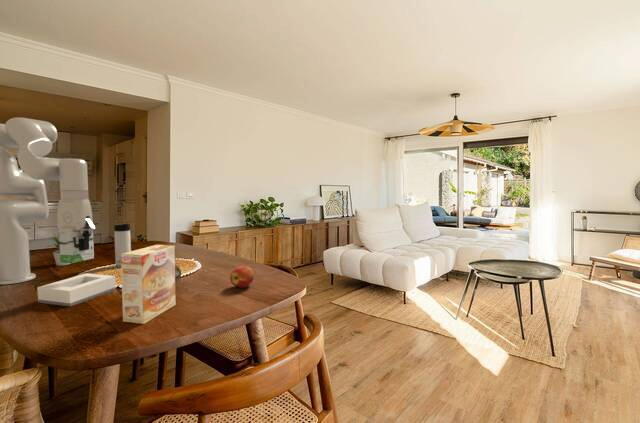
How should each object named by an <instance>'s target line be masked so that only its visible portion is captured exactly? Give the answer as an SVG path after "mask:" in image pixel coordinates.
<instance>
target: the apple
mask: <svg viewBox="0 0 640 423" xmlns="http://www.w3.org/2000/svg"><path fill="white" fill-rule="evenodd" d="M229 276H230V277H229V280H230V283H231V284H232V285H233V286H234V287H236V288H240V289H242V288H244V289H245V288H246V287H248V286H250V285H251V284H252V283H253V281H254V277H255V273H254V270H252V268H250V267H249V266H246V265H245V266H244V265H241V266H238V267H235V269H233V270H232V271H231V273H230V275H229Z"/></svg>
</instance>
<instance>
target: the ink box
mask: <svg viewBox="0 0 640 423" xmlns="http://www.w3.org/2000/svg"><path fill="white" fill-rule="evenodd" d="M83 229H85V227H84V228H83ZM58 232H59V238H58V240H59V241H60V263H70V264H76V263H79V262H85V261H87V260H91V259H95V251H94V250H95V249H94V246H95V245H94V232H92V234H91V235H90V238H89V249H88V250H83V251H79V239H80V236H79V232H78V231H75V230H74V228H71V227H60V228H59V229H58ZM84 233H85V231H83V234H84Z"/></svg>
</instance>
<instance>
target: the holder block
mask: <svg viewBox="0 0 640 423" xmlns="http://www.w3.org/2000/svg"><path fill="white" fill-rule="evenodd" d="M116 279H117V278H116V275H108V274H107V275H106V274H96V273H88V272H87V273H82V274H80V275H76V276H72V277H69V278H66V279H62V280H58V281H54V282H52V283H47V284H45V285H41V286H38V287H36V288H37V289H36V290H37V301H38V302H37V303H38V304H39V303H41V304H47V305H48V304H49V305H56V306H64V307H72V306H75V305H78V304H81V303H83V302H87V301H90V300H92V299H94V298H97V297H100V296H103V295H105V294H108V293H110V292H114V291H116V290H117V283H116V282H117V280H116Z"/></svg>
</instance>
